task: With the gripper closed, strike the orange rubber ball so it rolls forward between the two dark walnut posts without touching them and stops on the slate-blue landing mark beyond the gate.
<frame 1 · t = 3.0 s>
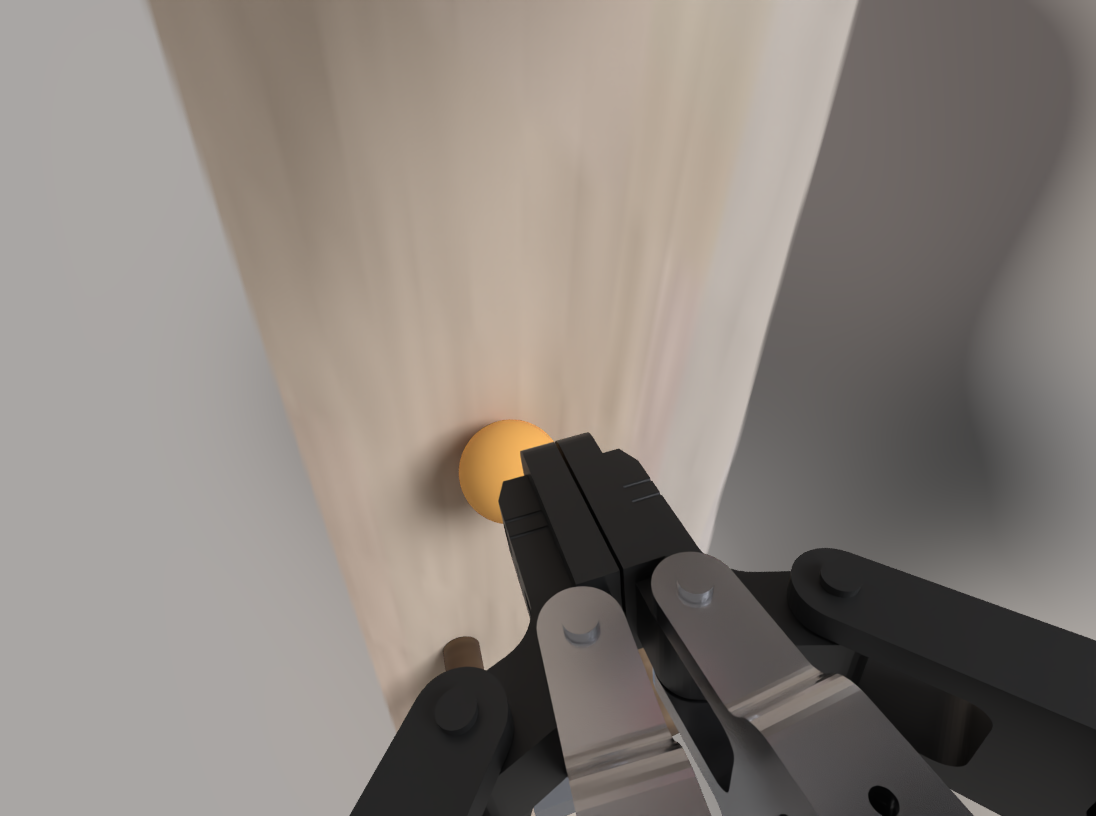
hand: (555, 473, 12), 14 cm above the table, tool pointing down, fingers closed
stopper wall: (571, 773, 51), on the table
post 1: (461, 648, 37), on the table
ball: (511, 471, 26), on the table
post 2: (613, 598, 38), on the table
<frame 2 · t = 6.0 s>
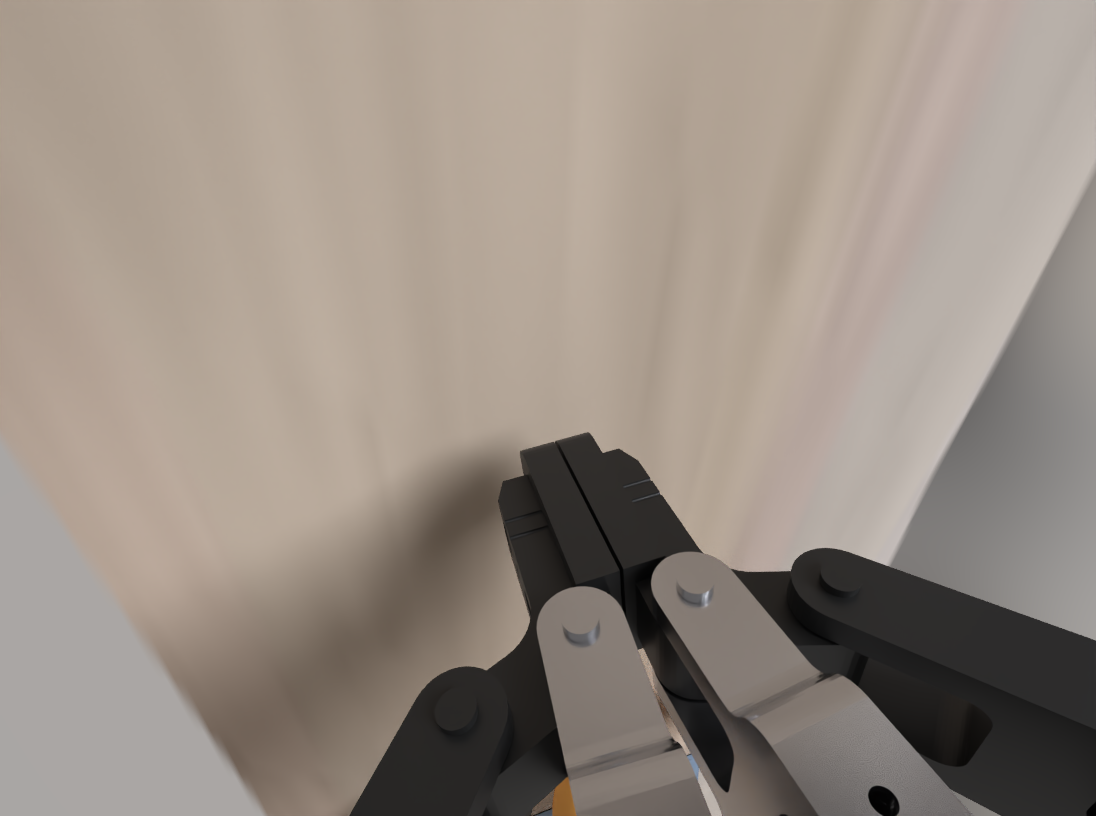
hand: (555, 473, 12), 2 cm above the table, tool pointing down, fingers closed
ball: (621, 812, 20), on the table
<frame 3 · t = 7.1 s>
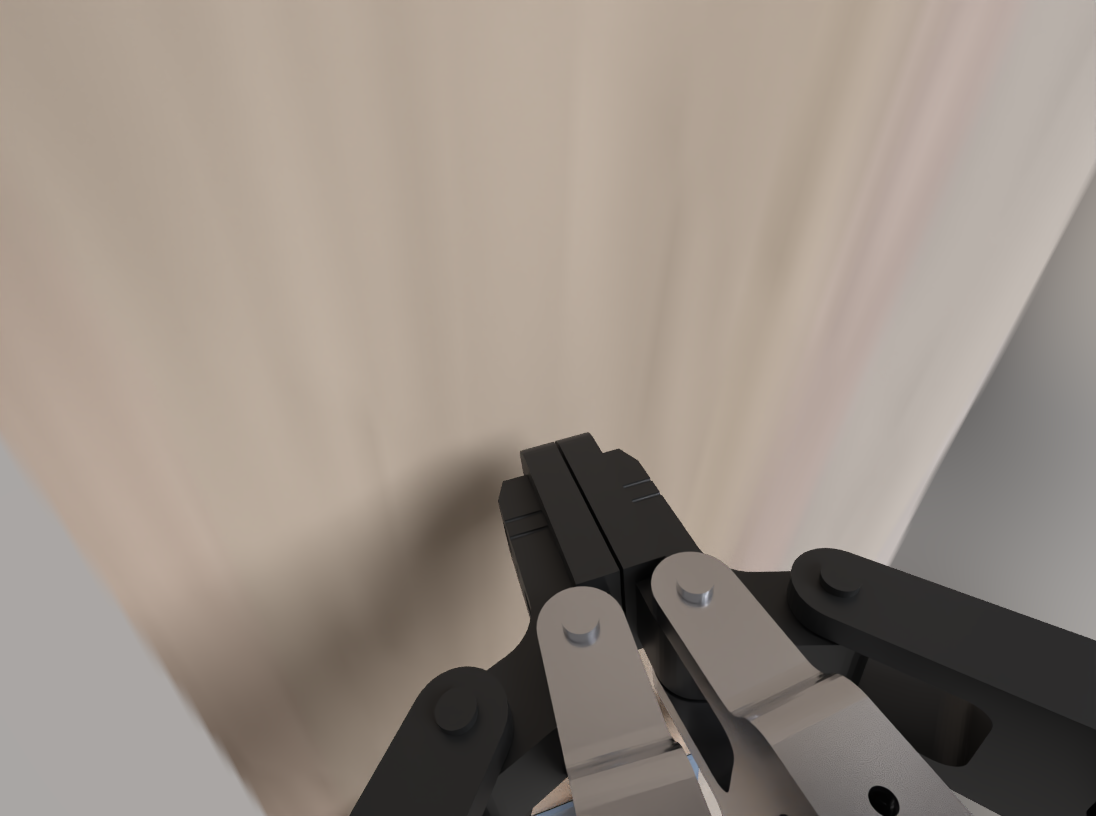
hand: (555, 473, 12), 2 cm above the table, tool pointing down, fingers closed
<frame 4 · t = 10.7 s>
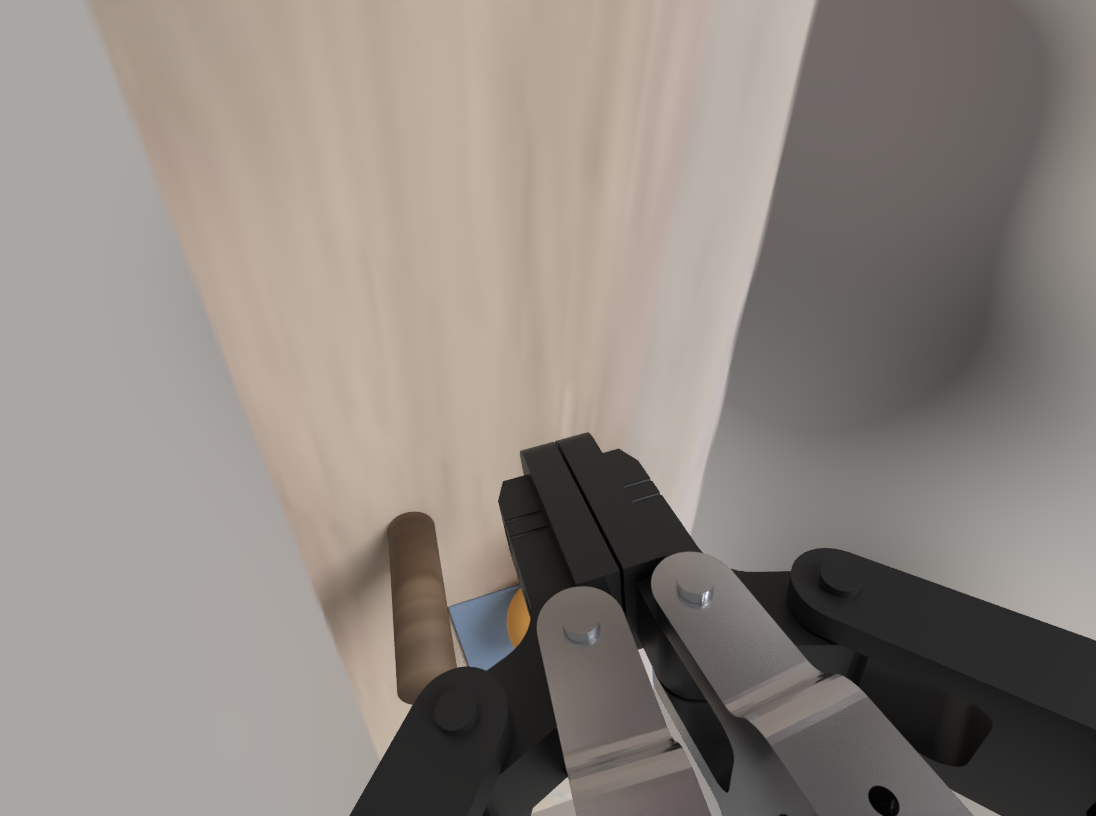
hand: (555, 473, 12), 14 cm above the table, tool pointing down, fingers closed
landing mark: (541, 646, 38), on the table
post 1: (411, 529, 29), on the table
ball: (548, 620, 32), on the table
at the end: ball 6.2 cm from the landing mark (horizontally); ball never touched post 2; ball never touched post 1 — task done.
